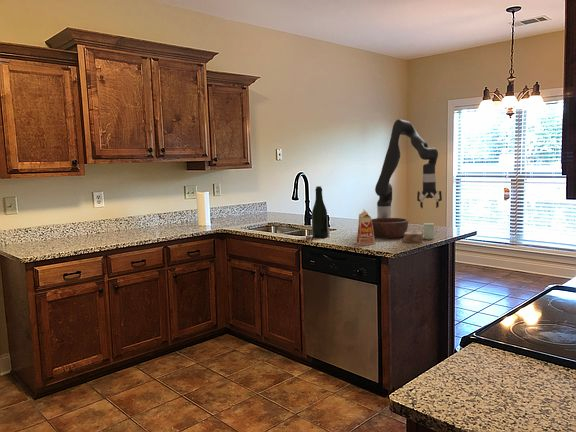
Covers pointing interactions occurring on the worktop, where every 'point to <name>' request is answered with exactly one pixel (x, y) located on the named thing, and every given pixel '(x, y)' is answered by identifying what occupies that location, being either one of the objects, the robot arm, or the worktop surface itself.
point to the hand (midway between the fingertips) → (429, 208)
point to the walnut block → (413, 236)
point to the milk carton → (365, 230)
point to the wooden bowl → (389, 227)
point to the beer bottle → (319, 216)
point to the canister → (428, 230)
